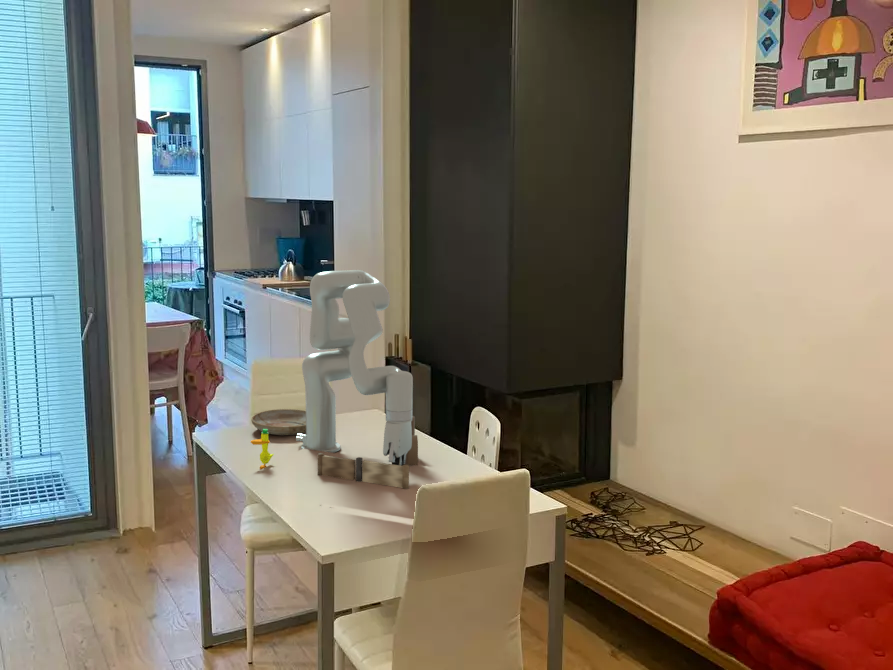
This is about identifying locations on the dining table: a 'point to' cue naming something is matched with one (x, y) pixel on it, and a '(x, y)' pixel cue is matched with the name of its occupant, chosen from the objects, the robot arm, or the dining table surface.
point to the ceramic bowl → (281, 421)
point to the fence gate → (385, 474)
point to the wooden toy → (413, 447)
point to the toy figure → (263, 448)
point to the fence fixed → (339, 467)
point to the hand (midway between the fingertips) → (398, 477)
